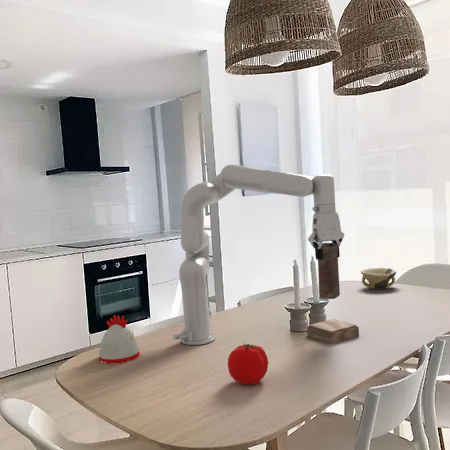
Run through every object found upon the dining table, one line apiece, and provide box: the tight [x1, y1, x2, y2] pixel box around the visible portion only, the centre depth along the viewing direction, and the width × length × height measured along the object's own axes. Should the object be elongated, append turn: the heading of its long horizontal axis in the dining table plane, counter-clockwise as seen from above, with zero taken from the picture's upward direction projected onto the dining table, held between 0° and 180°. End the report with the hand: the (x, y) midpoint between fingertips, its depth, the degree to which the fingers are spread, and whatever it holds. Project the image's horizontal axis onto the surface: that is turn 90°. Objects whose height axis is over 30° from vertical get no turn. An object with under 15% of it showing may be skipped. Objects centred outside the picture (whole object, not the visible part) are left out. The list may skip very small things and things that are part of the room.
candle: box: [317, 242, 341, 300], centre depth 178 cm, size 8×7×20 cm
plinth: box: [306, 318, 360, 344], centre depth 179 cm, size 13×13×4 cm
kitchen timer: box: [98, 314, 141, 364], centre depth 172 cm, size 14×14×15 cm
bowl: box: [360, 267, 397, 290], centre depth 255 cm, size 18×18×10 cm
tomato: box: [227, 343, 269, 386], centre depth 141 cm, size 12×12×11 cm
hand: (327, 257), depth 178 cm, fingers closed on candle, 7 cm apart
